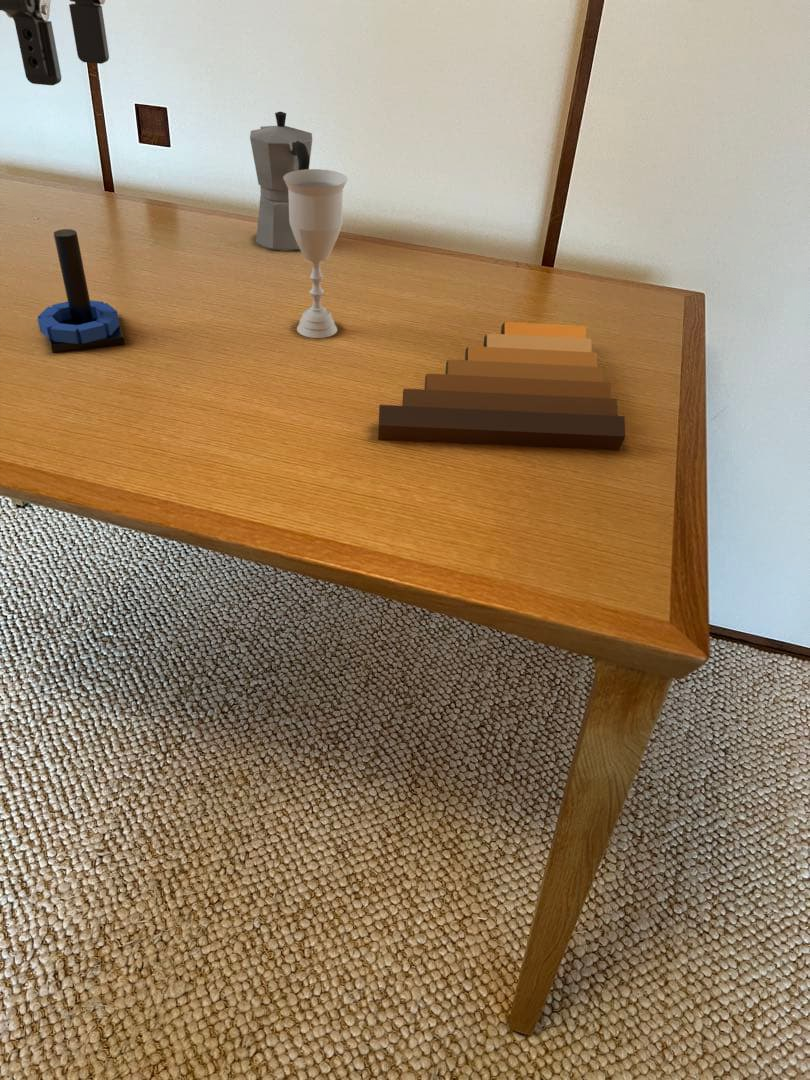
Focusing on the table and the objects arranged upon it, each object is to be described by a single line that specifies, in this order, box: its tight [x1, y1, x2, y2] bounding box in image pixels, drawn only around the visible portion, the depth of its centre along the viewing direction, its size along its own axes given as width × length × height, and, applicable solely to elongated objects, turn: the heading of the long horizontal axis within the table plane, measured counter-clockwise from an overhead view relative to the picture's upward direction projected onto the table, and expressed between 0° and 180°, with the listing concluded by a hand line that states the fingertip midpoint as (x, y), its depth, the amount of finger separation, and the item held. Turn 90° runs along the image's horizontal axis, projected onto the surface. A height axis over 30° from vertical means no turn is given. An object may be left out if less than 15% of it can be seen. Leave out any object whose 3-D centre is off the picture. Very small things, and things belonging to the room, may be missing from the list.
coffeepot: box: [249, 111, 313, 252], centre depth 119 cm, size 15×9×18 cm, turn 29°
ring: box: [37, 299, 120, 344], centre depth 96 cm, size 8×8×2 cm
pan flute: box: [377, 321, 626, 451], centre depth 92 cm, size 25×3×25 cm
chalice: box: [283, 168, 348, 339], centre depth 96 cm, size 7×7×18 cm
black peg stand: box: [49, 228, 126, 354], centre depth 93 cm, size 8×8×12 cm
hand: (70, 72), depth 59 cm, fingers open, 8 cm apart
